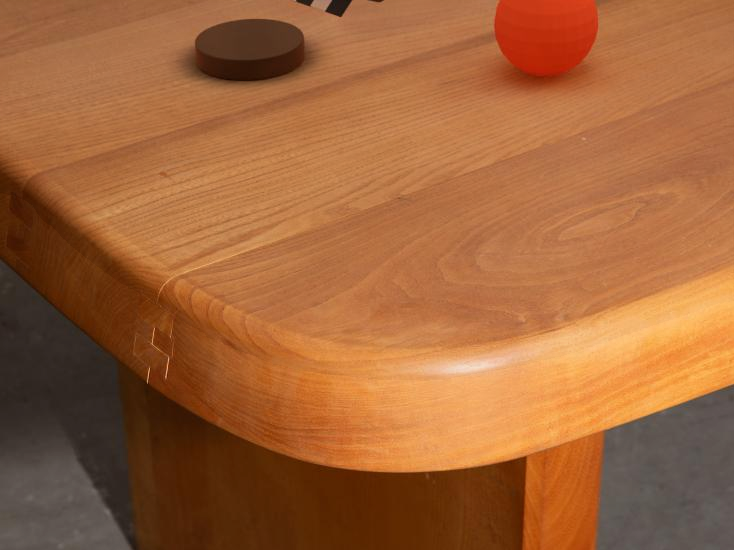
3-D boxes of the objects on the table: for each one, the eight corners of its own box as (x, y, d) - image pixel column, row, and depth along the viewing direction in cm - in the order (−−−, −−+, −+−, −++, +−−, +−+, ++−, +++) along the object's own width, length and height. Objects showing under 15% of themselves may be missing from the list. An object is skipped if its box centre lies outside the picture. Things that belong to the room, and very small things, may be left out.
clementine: (459, 70, 99) (460, -32, 95) (523, 41, 103) (527, -59, 99) (553, 102, 94) (558, -4, 90) (616, 69, 99) (623, -33, 94)
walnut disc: (200, 85, 98) (198, 64, 97) (193, 43, 104) (191, 23, 104) (311, 75, 99) (310, 54, 98) (298, 34, 105) (297, 14, 105)
